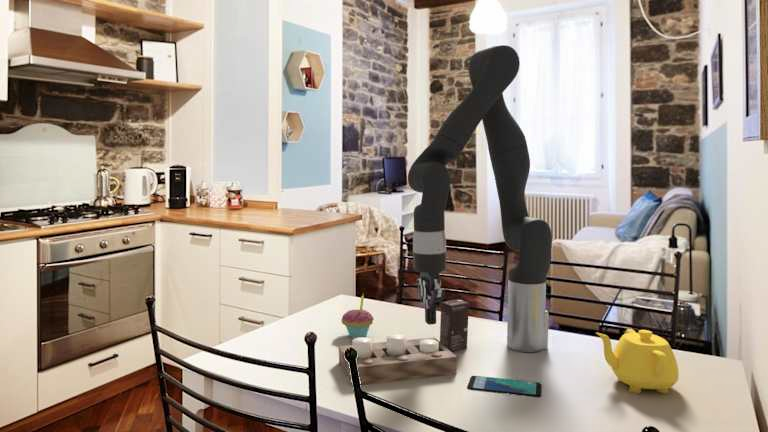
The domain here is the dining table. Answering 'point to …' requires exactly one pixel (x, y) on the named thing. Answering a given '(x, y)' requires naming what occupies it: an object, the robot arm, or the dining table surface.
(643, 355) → the teapot
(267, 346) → the dining table surface
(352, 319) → the cupcake
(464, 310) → the box
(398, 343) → the button
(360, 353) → the button
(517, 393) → the smartphone
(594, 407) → the dining table surface
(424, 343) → the button
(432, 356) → the board
